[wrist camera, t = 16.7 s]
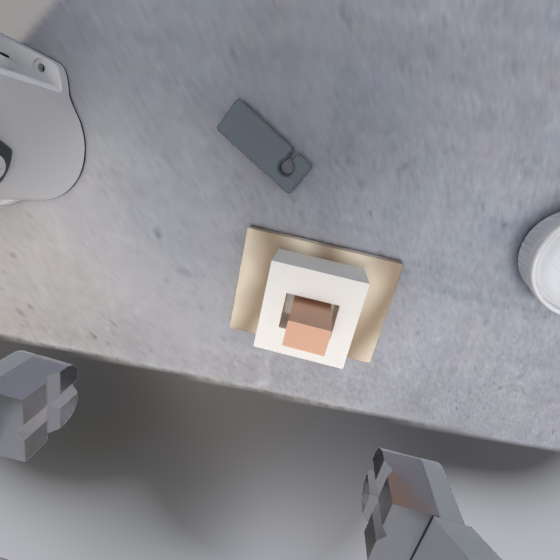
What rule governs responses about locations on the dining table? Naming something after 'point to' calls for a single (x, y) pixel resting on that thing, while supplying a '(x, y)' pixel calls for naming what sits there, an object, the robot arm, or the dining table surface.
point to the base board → (267, 243)
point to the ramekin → (542, 262)
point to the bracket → (262, 145)
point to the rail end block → (308, 325)
